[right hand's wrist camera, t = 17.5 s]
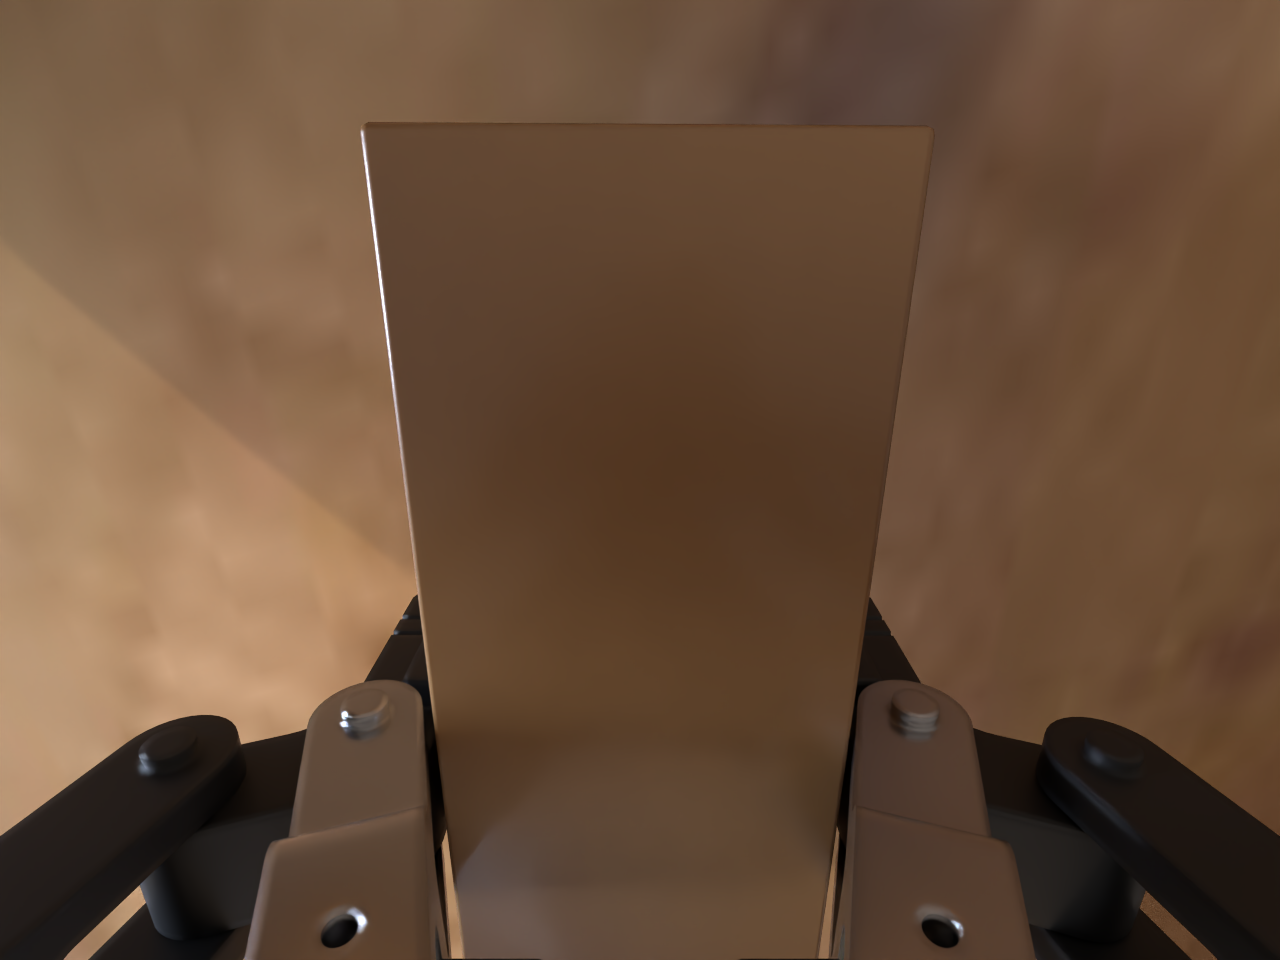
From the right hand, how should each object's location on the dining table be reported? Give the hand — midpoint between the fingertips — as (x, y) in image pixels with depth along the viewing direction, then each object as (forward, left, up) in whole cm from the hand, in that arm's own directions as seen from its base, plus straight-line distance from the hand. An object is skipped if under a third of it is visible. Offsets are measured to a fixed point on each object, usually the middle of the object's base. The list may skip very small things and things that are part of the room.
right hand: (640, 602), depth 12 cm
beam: (+30, 0, -4) cm, 31 cm away
